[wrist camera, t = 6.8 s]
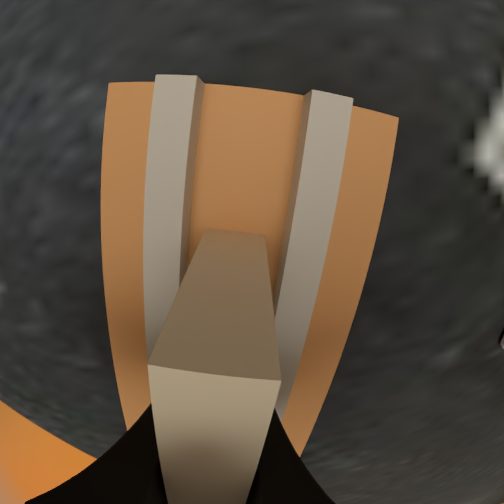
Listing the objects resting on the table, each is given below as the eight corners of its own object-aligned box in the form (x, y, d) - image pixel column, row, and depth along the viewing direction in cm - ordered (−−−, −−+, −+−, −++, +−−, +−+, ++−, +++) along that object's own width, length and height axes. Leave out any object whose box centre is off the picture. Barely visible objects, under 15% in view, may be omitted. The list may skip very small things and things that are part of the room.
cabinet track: (387, 118, 10) (522, 119, 4) (290, 461, 17) (299, 553, 11) (119, 85, 10) (-11, 56, 3) (137, 444, 17) (112, 532, 10)
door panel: (264, 234, 11) (281, 380, 4) (235, 424, 15) (230, 548, 8) (206, 227, 11) (147, 363, 4) (196, 419, 14) (177, 542, 8)
